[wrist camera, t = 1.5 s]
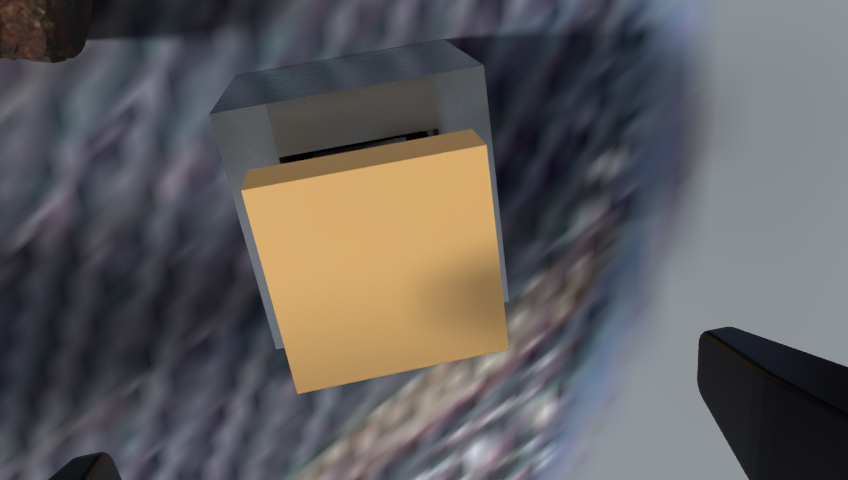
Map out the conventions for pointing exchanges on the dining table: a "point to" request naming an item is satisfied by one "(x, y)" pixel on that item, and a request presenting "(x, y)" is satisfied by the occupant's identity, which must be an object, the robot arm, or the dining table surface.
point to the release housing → (348, 117)
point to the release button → (380, 257)
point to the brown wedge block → (43, 29)
